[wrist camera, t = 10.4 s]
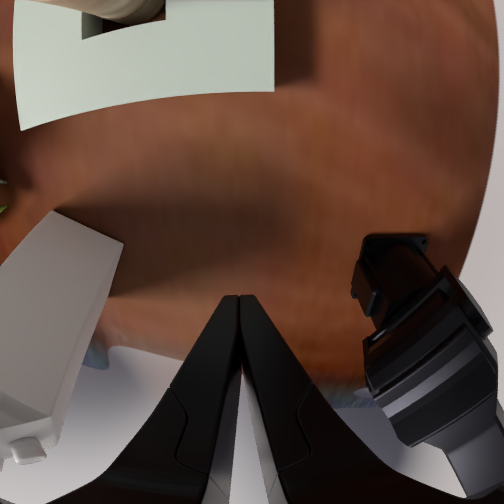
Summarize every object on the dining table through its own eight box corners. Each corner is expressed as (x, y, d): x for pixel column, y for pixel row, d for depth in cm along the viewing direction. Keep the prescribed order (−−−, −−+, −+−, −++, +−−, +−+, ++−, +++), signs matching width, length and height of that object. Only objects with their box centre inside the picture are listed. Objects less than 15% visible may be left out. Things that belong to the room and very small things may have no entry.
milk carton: (45, 268, 23) (-42, 444, 7) (52, 207, 20) (-83, 409, 4) (107, 298, 25) (48, 494, 10) (125, 242, 22) (35, 488, 6)
